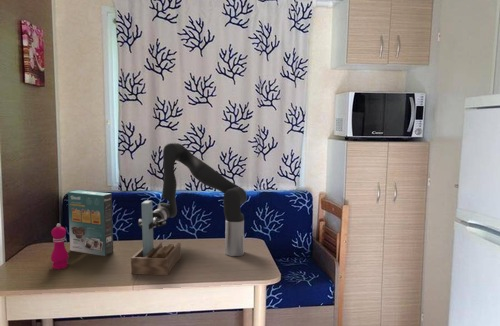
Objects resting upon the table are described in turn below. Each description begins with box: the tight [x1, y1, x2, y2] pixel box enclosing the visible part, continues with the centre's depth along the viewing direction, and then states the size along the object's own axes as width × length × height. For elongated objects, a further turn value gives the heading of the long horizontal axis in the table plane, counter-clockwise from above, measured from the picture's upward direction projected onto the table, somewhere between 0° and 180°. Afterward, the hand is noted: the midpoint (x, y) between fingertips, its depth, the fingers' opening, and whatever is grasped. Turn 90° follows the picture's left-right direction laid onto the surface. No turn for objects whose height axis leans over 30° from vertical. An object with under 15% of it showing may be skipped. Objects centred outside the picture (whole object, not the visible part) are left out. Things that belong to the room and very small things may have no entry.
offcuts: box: [152, 243, 175, 258], centre depth 187 cm, size 7×13×8 cm, turn 175°
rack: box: [130, 241, 182, 276], centre depth 187 cm, size 16×23×7 cm
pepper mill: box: [50, 222, 69, 270], centre depth 182 cm, size 7×7×20 cm
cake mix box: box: [67, 189, 114, 257], centre depth 203 cm, size 22×6×30 cm, turn 69°
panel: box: [140, 200, 155, 257], centre depth 186 cm, size 3×6×26 cm, turn 175°
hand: (145, 227), depth 183 cm, fingers closed on panel, 3 cm apart
